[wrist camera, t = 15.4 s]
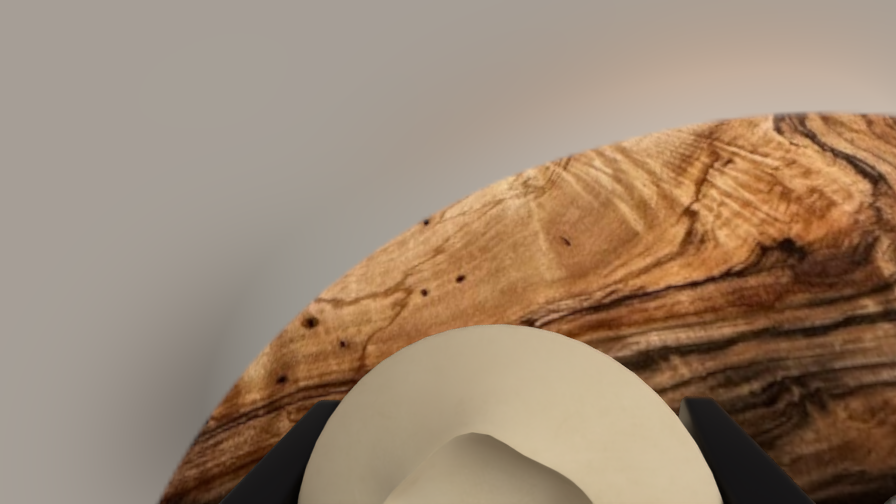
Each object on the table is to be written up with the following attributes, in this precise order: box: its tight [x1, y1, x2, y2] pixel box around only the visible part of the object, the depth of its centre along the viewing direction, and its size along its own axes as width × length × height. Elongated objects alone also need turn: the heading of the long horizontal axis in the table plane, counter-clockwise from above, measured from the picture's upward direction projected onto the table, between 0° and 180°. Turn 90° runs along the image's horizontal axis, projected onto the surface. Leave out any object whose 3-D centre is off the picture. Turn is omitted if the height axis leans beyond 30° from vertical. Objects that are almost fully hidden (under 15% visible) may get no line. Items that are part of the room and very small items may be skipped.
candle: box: [298, 324, 724, 504], centre depth 10 cm, size 6×6×10 cm
